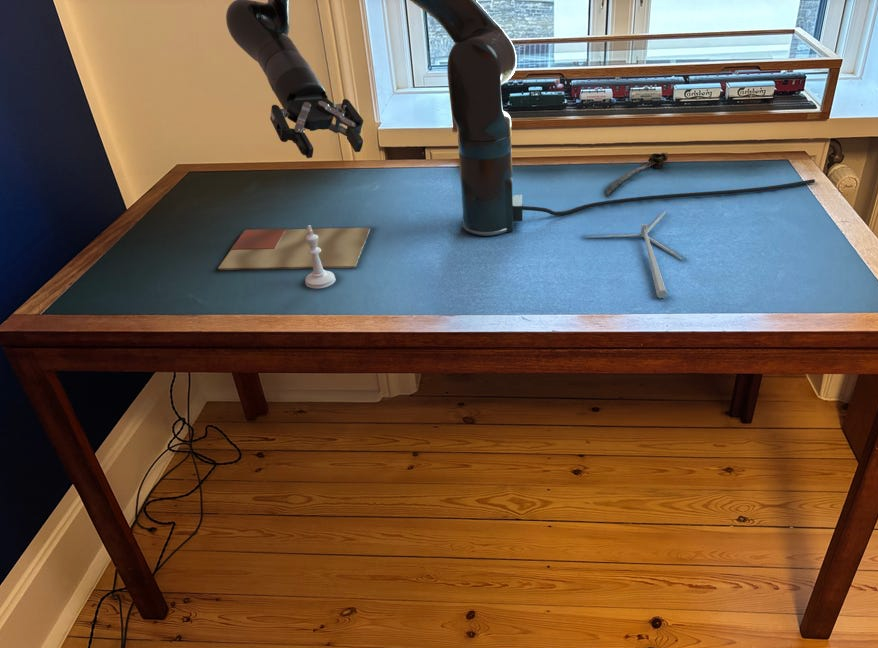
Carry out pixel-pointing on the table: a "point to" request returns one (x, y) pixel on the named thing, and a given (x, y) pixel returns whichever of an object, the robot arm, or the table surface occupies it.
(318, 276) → the chess piece
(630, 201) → the robot arm
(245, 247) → the corner board
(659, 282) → the wind turbine model
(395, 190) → the table surface
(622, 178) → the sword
